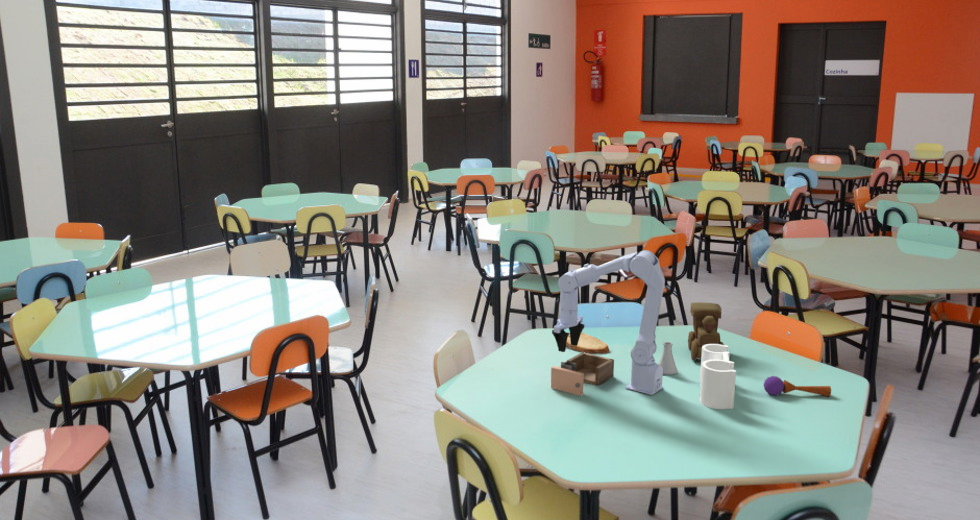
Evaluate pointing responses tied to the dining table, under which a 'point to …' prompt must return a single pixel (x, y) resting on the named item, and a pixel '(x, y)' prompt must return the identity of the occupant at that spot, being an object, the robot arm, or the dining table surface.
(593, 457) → the dining table surface
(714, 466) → the dining table surface
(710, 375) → the bracket
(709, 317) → the wooden toy train
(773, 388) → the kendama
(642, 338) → the robot arm
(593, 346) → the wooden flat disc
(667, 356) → the flask
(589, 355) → the cabinet
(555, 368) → the door
